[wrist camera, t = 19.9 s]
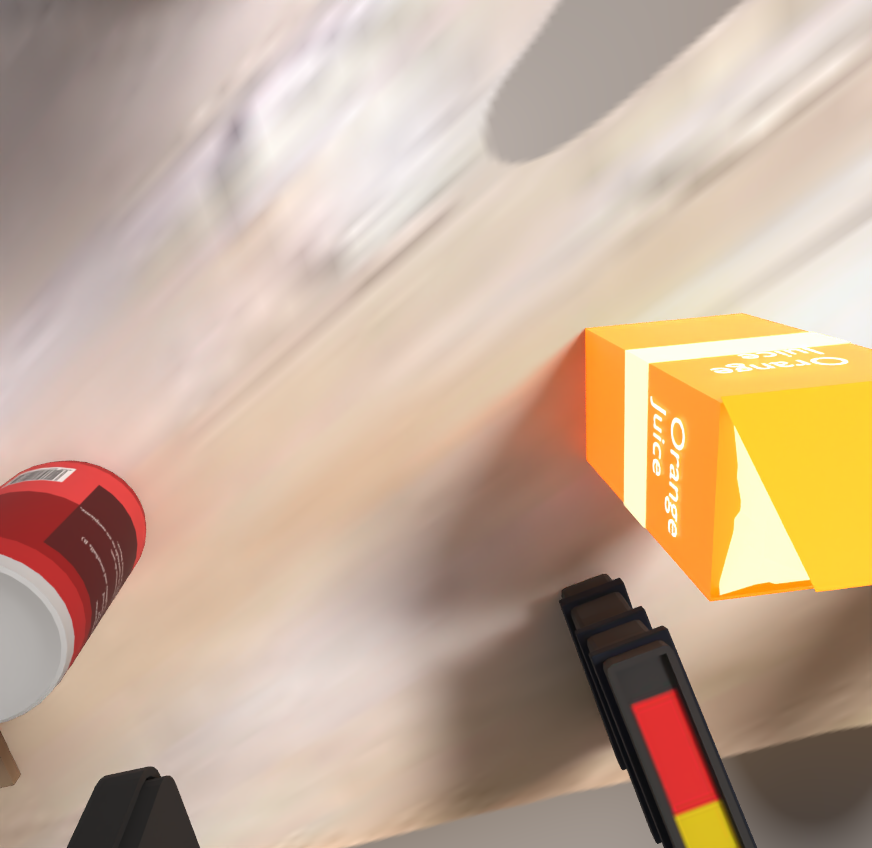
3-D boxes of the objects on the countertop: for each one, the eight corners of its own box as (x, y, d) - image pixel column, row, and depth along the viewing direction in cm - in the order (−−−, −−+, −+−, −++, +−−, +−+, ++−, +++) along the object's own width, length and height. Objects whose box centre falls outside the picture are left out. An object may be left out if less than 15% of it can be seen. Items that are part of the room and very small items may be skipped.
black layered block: (623, 781, 44) (698, 927, 29) (546, 583, 45) (579, 624, 30) (679, 761, 43) (782, 896, 29) (599, 563, 45) (659, 594, 30)
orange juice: (736, 446, 39) (1085, 671, 20) (584, 462, 38) (798, 710, 19) (744, 309, 37) (1150, 417, 18) (583, 324, 36) (825, 454, 17)
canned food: (-35, 529, 36) (-198, 657, 26) (61, 424, 35) (-68, 513, 25) (86, 614, 38) (-18, 764, 28) (181, 517, 37) (109, 636, 27)
